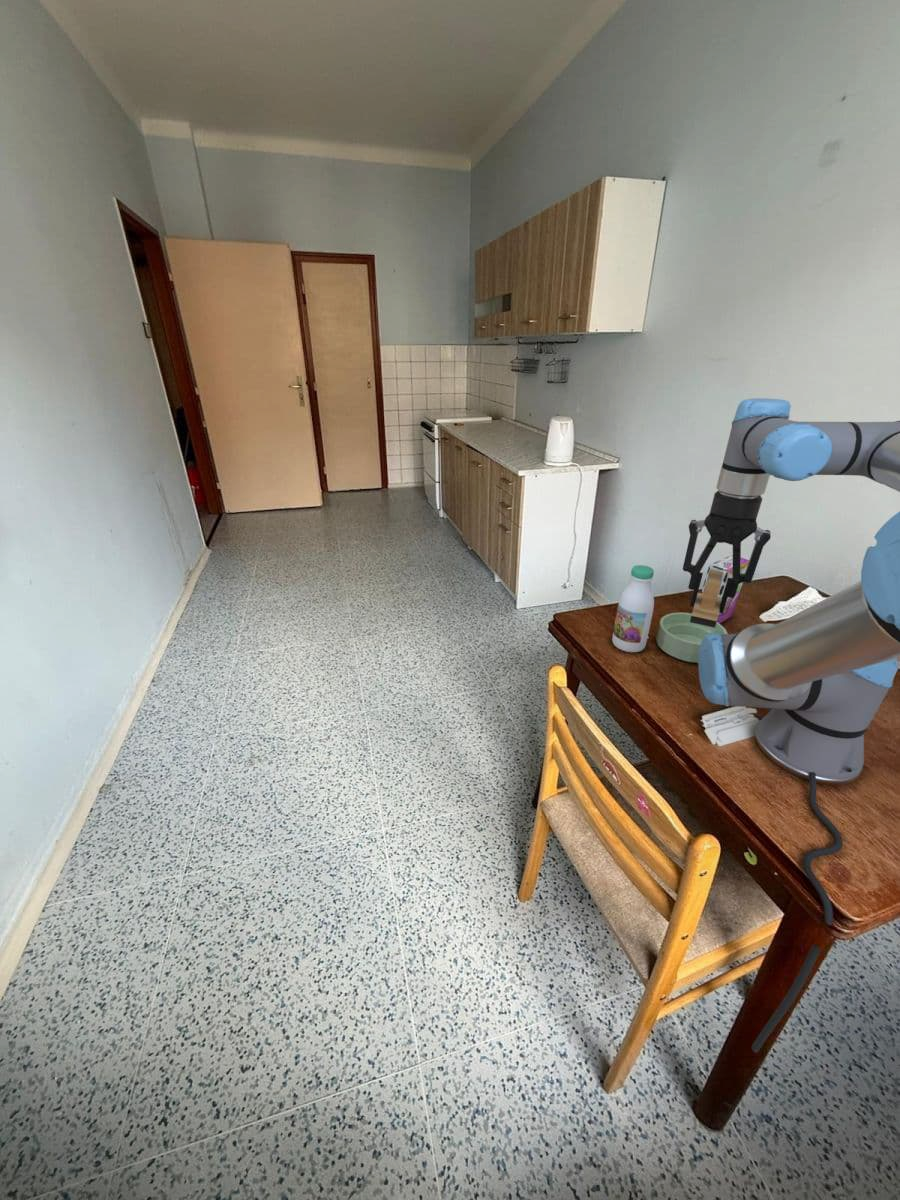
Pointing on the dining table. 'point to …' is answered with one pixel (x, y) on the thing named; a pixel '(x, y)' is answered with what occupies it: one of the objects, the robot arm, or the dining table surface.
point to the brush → (708, 601)
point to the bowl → (683, 636)
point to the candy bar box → (726, 568)
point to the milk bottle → (634, 611)
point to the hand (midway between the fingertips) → (706, 606)
